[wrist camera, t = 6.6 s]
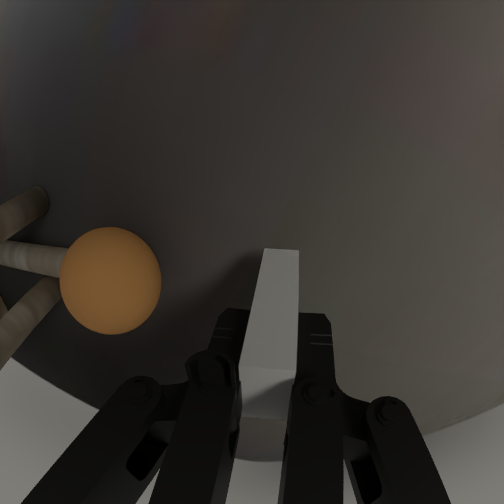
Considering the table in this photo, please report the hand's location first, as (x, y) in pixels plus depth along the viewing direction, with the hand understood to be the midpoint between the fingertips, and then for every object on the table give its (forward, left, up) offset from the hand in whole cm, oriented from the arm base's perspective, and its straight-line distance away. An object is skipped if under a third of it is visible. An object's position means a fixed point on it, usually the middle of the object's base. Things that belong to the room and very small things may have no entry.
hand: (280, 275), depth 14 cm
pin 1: (-3, -16, -2) cm, 16 cm away
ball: (+1, -8, +1) cm, 9 cm away
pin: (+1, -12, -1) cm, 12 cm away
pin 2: (+3, -16, -2) cm, 16 cm away
